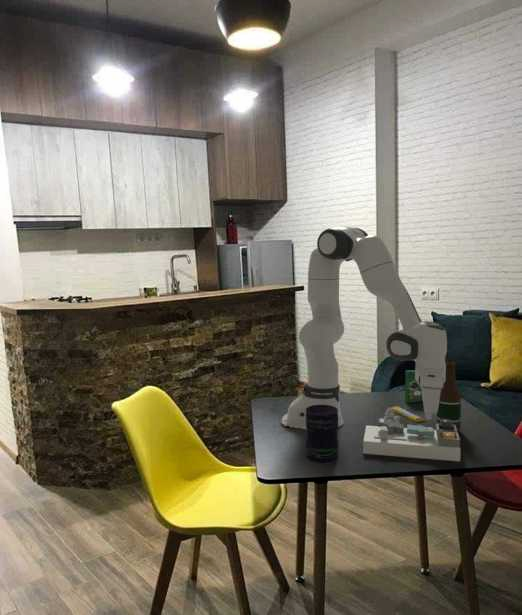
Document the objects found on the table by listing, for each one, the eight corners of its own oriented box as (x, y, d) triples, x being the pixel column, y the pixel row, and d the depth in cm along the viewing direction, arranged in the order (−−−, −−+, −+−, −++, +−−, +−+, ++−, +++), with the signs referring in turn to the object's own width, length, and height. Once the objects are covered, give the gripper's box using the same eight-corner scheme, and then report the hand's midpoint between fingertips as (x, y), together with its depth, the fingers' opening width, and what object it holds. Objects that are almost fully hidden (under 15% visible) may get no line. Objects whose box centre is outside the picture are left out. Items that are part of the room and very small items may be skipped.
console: (363, 453, 154) (363, 432, 154) (366, 436, 168) (366, 417, 167) (460, 461, 147) (460, 439, 146) (455, 443, 160) (455, 423, 159)
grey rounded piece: (379, 425, 178) (379, 404, 177) (396, 423, 179) (396, 402, 179) (386, 431, 173) (386, 408, 172) (403, 429, 174) (403, 406, 173)
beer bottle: (462, 435, 166) (464, 365, 164) (438, 434, 168) (439, 365, 165) (458, 427, 174) (459, 360, 171) (435, 426, 176) (436, 359, 173)
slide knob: (380, 438, 154) (380, 429, 154) (380, 434, 157) (380, 426, 157) (386, 438, 154) (386, 430, 153) (386, 435, 157) (386, 426, 156)
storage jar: (335, 449, 158) (335, 404, 156) (341, 463, 148) (341, 414, 146) (304, 450, 158) (303, 405, 156) (308, 464, 148) (307, 415, 146)
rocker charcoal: (377, 426, 160) (378, 421, 160) (378, 422, 164) (379, 417, 164) (402, 433, 158) (403, 428, 158) (402, 428, 162) (403, 423, 162)
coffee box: (423, 400, 206) (423, 368, 205) (426, 402, 203) (426, 370, 202) (404, 401, 205) (404, 370, 204) (407, 403, 202) (407, 371, 201)
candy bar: (426, 422, 181) (426, 417, 181) (417, 424, 179) (417, 419, 179) (398, 409, 197) (398, 404, 196) (389, 411, 195) (389, 406, 195)
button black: (440, 430, 156) (440, 422, 155) (439, 426, 159) (440, 418, 159) (453, 431, 155) (453, 423, 154) (451, 427, 158) (452, 419, 158)
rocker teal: (406, 433, 155) (407, 428, 155) (406, 428, 159) (407, 423, 159) (433, 437, 153) (434, 432, 152) (433, 432, 157) (433, 427, 157)
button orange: (442, 444, 149) (442, 436, 149) (441, 439, 153) (441, 431, 152) (455, 445, 148) (455, 436, 148) (454, 440, 152) (454, 432, 151)
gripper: (418, 365, 164) (416, 406, 166) (420, 382, 144) (418, 428, 146) (438, 367, 162) (436, 408, 164) (443, 384, 143) (441, 430, 144)
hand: (428, 418), depth 155 cm, fingers closed
